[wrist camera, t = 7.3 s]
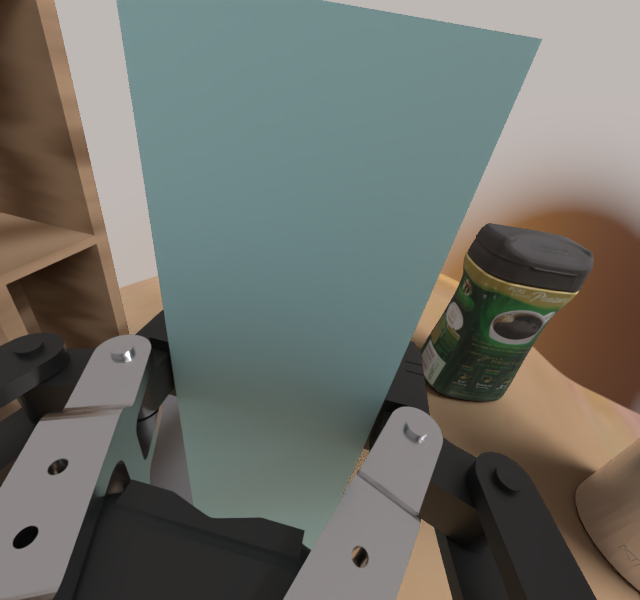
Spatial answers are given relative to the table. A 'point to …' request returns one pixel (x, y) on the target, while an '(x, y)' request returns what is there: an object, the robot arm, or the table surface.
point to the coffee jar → (501, 309)
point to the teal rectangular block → (302, 221)
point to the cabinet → (58, 215)
